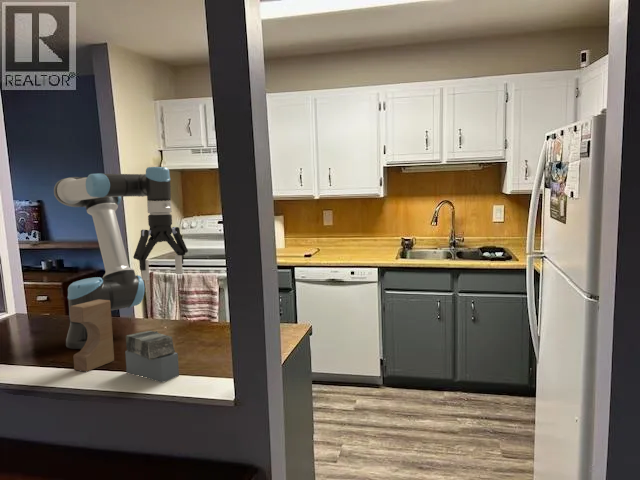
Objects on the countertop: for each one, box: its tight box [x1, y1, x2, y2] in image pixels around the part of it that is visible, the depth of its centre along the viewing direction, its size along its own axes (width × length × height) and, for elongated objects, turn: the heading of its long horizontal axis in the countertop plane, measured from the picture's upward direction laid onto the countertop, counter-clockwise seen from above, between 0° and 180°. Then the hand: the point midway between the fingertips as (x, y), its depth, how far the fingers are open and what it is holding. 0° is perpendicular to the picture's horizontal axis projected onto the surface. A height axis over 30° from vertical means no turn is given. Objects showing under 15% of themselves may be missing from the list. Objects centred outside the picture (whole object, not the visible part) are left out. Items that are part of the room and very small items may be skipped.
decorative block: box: [69, 299, 115, 372], centre depth 153 cm, size 11×6×20 cm, turn 154°
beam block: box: [124, 350, 180, 383], centre depth 144 cm, size 16×6×7 cm, turn 58°
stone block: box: [125, 330, 176, 360], centre depth 144 cm, size 9×14×5 cm, turn 45°
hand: (163, 277), depth 165 cm, fingers open, 13 cm apart
